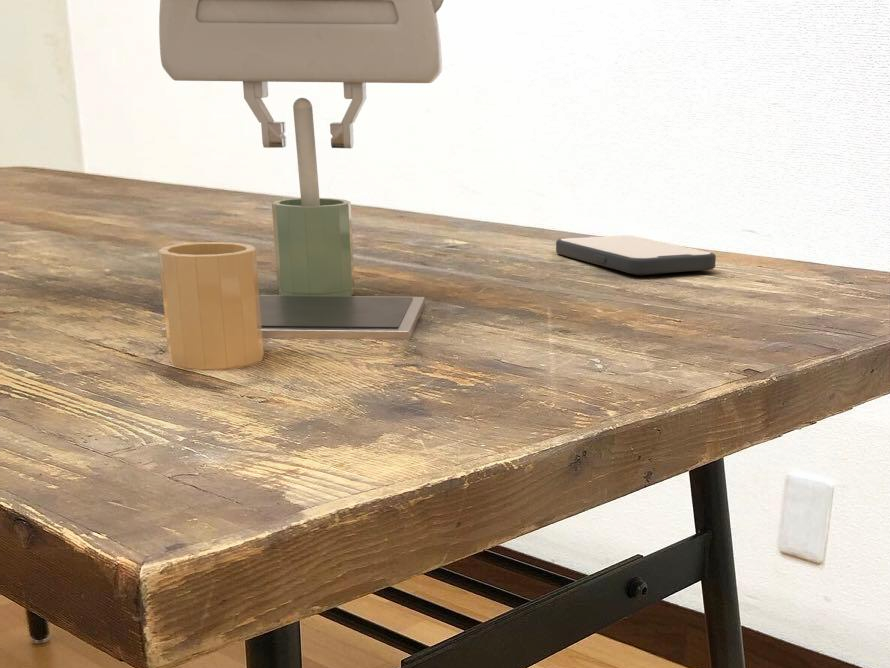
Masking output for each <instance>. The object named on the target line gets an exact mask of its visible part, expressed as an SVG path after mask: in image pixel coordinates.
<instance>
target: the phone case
mask: <svg viewBox="0 0 890 668" xmlns="http://www.w3.org/2000/svg"><path fill="white" fill-rule="evenodd" d="M555 253H556V254H558V255H560V256H564V257H568V258H571V259H575V260H578V261H583V262H587V263H590V264H594V265H598V266H601V267H605V268H607V269H608V268H609V269H612V270H616V271H620V272H622V273H627V274H630V275H634V276H639V277H644V276H651V275H664V274H669V273H670V274H671V273H680V272H681V273H684V272H698V271H711V270H714V269H715V268H716V261H717V256H716V254H715V253H713V252H709V251H706V250H701V249H696V248H692V247H687V246H681V245H678V244H673V243H669V242H665V241H659V240H654V239H650V238H645V237H640V236H635V235H626V234H625V235H605V236H603V235H602V236H587V237H586V236H585V237H567V238H559V239H557V240H556V242H555Z"/></svg>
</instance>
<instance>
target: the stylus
mask: <svg viewBox="0 0 890 668" xmlns="http://www.w3.org/2000/svg"><path fill="white" fill-rule="evenodd" d="M292 109H293V110H292V111H293V123H294V133H295V145H296V157H297V158H296V159H297V168H298V182H299V195H300V198H301V206H320V199H319V198H320V189H319V188H320V187H319V174H318V163H317V150H316V149H317V148H316V137H315V136H316V135H315V125H314V112H313V105H312V102H311V100H309V99H307V98H305V97H299V98H297V99H295V101H294V102H293V105H292Z"/></svg>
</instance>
